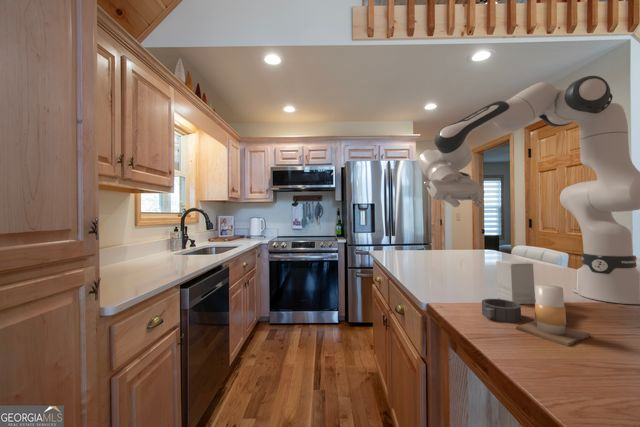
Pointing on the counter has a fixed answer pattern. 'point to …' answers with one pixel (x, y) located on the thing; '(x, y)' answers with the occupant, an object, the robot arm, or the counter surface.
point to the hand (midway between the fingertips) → (468, 205)
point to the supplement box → (515, 281)
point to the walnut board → (565, 339)
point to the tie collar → (501, 310)
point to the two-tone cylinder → (550, 309)
